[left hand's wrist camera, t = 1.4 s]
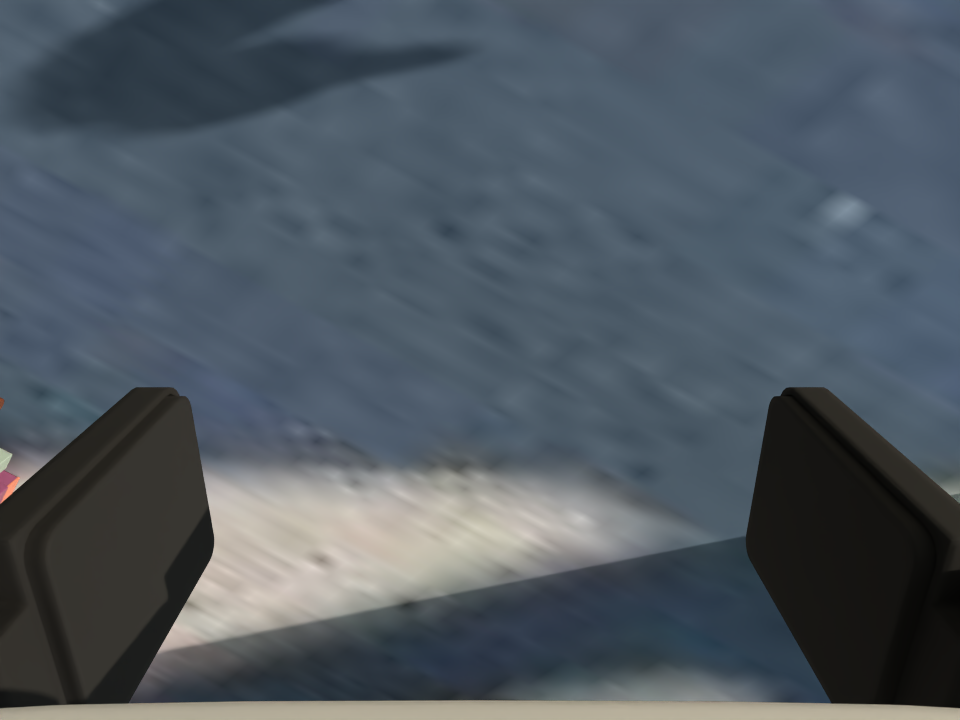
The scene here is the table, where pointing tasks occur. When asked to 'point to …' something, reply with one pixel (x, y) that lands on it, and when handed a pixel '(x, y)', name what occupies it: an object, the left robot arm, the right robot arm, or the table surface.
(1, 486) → the cabinet
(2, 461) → the drawer
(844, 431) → the left robot arm
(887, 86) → the table surface
